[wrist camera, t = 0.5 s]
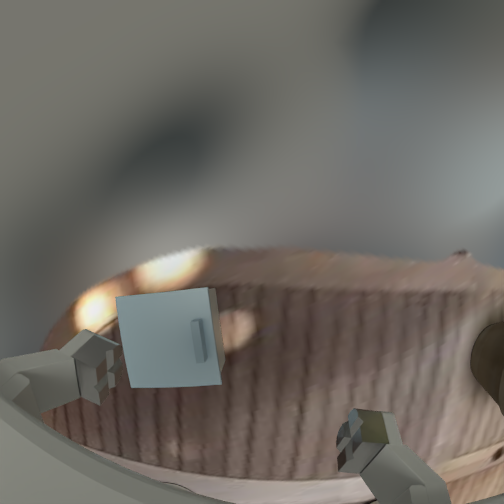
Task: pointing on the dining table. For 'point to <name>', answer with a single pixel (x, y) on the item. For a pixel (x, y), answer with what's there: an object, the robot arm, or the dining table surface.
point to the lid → (169, 339)
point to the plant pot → (490, 362)
